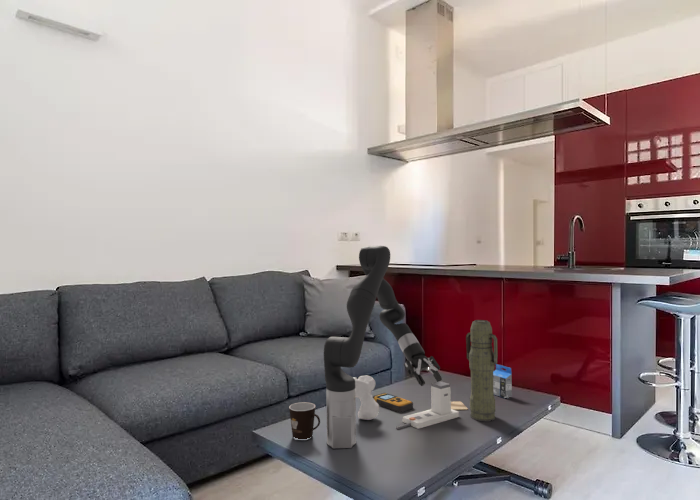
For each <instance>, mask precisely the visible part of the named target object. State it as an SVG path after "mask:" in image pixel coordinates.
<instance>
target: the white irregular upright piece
mask: <svg viewBox="0 0 700 500" xmlns="http://www.w3.org/2000/svg"><path fill="white" fill-rule="evenodd" d="M352 377H353V378H354V379H355V399H356V398H358V399H359V400H360V403H361V405H360V407H359V409H358V412H357V417H358V419H360V420H367V421H370V420H373V419H375V418H377V417H378V415H379V412H380V405H378V403H376V401H375V400H374V399H373V394H372V392H373V391H374V389H375V387H376V380H375V379H374V378H373V377H372V376H370V375H366V374H365V375H360V376H359V377H358V378H357V377H356V376H355V377H354V376H352Z"/></svg>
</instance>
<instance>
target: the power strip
mask: <svg viewBox="0 0 700 500" xmlns="http://www.w3.org/2000/svg"><path fill="white" fill-rule="evenodd" d="M456 418H460V411H459V410H453V409H451V413H449V414H445V415H442V416H441V415H438V414H436V413H433V412H431V408H430V409H427V410H421V411H418V412H416V413H412V414H411V413H410V414H407V415H404V416H402V422H403V423H404V424H401V425H398V426H396V428H395V429H396V430H400V429H403V428H404V429H405V428H408V427H413V428H414V429H415V428H416V429H423V428H425V427H430V426H433V425H437V424H439V423H444V422H446V421H449V420H453V419H456Z"/></svg>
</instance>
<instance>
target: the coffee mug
mask: <svg viewBox="0 0 700 500" xmlns="http://www.w3.org/2000/svg"><path fill="white" fill-rule="evenodd" d="M288 408H289V409H288V410H289V411H288V412H289V418H290V425H291V433H292V438H293V437H295V438H298V439H307V438H310V437H312V438H313V436H312V435H313V433H314V430H316V429H317V428H319V426H320V424H321V419H320V417H319V415H318V414H316V404H315V403H312V402H305V401H303V402H302V401H301V402H300V401H299V402H295V403H292V404H290V405H289V406H288ZM315 418H316V419H317V422H318V423H317V424H316V426H314V425H315Z"/></svg>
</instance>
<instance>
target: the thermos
mask: <svg viewBox="0 0 700 500" xmlns="http://www.w3.org/2000/svg"><path fill="white" fill-rule="evenodd" d="M492 343H493V344H492ZM465 345H466V346H465V348H466V349H465V350H466V359H467V360H468V362H469V363H468V365H469V367H468V368H469V370H470V392H471V393H470V397H469V410H470V418H471V419H473V420H475V421H479V422H492V421H494V420H496V413H495V412H496V398H495V395H494V389H493V372H494V371H495V366H496V364H498V357H499V356H498V354H499V353H498V338H497V336H496V334H493V327H492V325H491V322H490V321H488V320H487V319H486V320H485V319H475V320H474V321H472V323H471V326H470V332H467V334H466V335H465ZM491 420H492V421H491Z"/></svg>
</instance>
